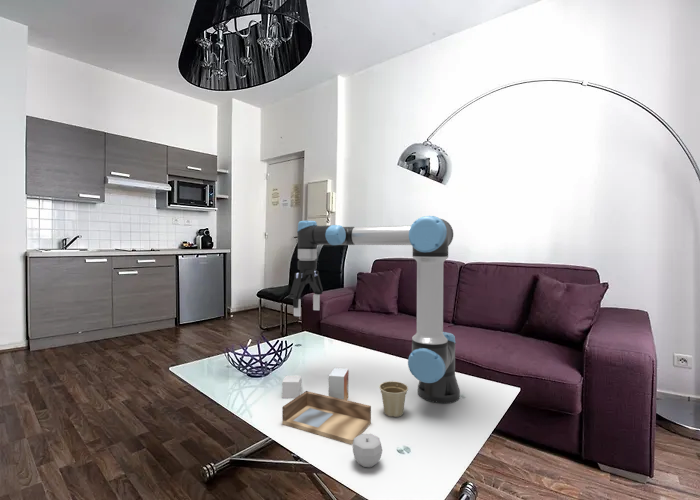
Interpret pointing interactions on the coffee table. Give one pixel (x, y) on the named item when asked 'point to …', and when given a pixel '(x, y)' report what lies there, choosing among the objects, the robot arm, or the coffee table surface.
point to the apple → (367, 449)
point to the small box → (338, 383)
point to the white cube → (291, 386)
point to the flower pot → (393, 397)
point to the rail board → (327, 416)
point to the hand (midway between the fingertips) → (307, 313)
